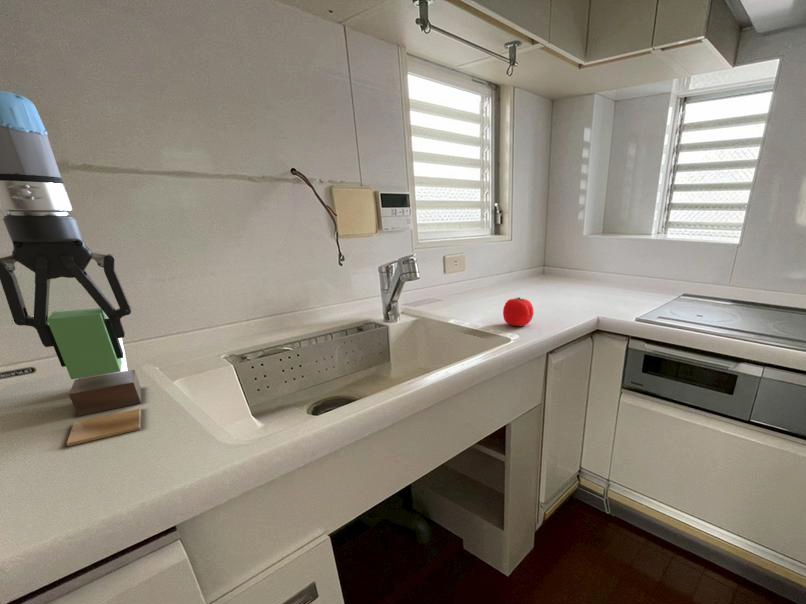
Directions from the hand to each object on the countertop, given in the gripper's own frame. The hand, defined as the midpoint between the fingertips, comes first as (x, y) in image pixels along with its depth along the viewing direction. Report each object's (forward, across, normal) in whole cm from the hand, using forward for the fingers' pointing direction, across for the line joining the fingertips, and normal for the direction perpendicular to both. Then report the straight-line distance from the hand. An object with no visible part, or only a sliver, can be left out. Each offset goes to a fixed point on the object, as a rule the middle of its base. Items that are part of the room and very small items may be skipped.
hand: (94, 359), depth 68 cm
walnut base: (+8, 0, 0) cm, 8 cm away
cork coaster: (+8, 0, -12) cm, 15 cm away
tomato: (+7, +93, -4) cm, 94 cm away
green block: (+2, 0, 0) cm, 2 cm away
